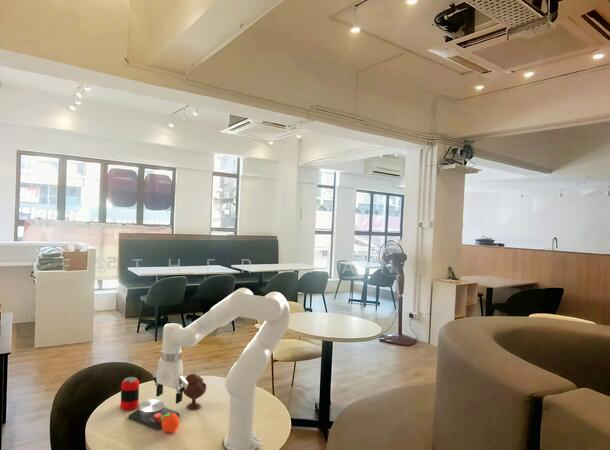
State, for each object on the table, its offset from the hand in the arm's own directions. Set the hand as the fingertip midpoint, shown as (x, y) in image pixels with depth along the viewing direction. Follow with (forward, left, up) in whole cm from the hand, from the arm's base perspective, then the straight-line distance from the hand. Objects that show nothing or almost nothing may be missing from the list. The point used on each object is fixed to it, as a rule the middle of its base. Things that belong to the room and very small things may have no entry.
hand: (168, 398), depth 145 cm
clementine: (0, 0, -13) cm, 13 cm away
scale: (+12, -5, -13) cm, 18 cm away
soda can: (+26, -6, -13) cm, 30 cm away
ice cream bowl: (+3, -21, -13) cm, 25 cm away
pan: (+14, -6, -10) cm, 18 cm away
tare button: (+6, -1, -10) cm, 12 cm away
